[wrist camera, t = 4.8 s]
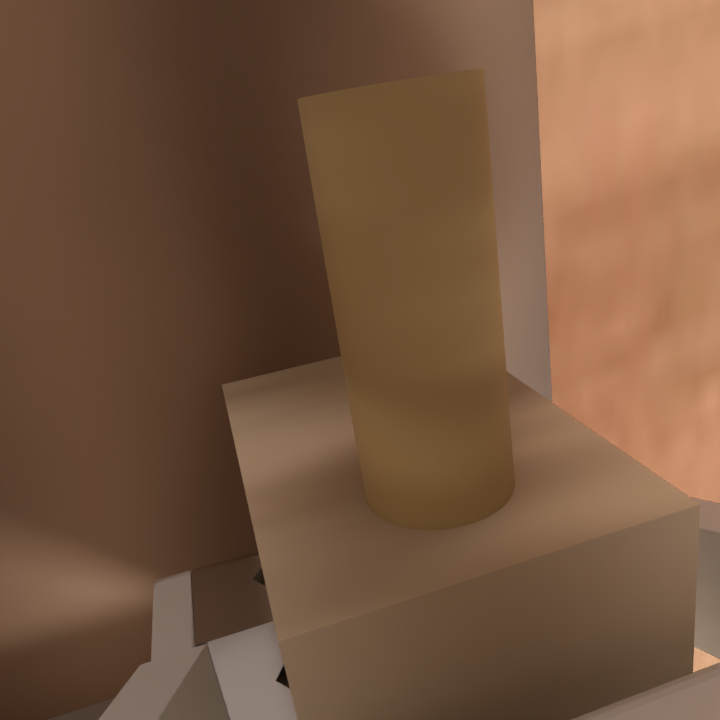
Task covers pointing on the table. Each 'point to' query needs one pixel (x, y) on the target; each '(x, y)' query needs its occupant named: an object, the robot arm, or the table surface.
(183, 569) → the walnut board
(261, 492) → the marking gauge
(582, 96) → the table surface
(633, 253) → the table surface
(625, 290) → the table surface
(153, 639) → the robot arm
